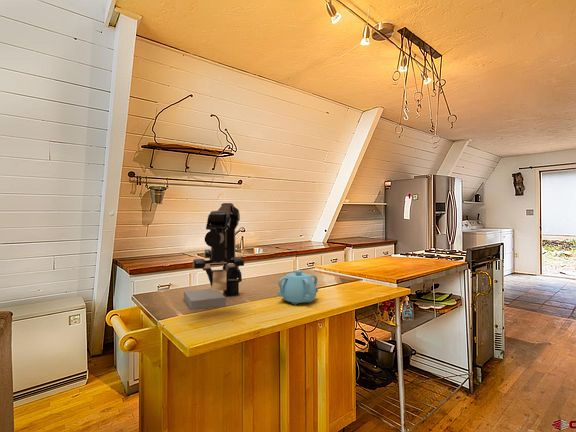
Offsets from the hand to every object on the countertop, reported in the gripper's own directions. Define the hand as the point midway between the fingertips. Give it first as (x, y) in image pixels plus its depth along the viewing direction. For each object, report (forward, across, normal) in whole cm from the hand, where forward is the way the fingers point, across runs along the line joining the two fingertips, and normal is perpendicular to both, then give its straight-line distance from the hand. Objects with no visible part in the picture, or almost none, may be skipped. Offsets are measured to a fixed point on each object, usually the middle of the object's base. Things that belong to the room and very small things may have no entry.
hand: (218, 284), depth 122 cm
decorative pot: (+11, -36, -5) cm, 38 cm away
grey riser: (+12, +3, -18) cm, 22 cm away
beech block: (+2, 0, 0) cm, 2 cm away
